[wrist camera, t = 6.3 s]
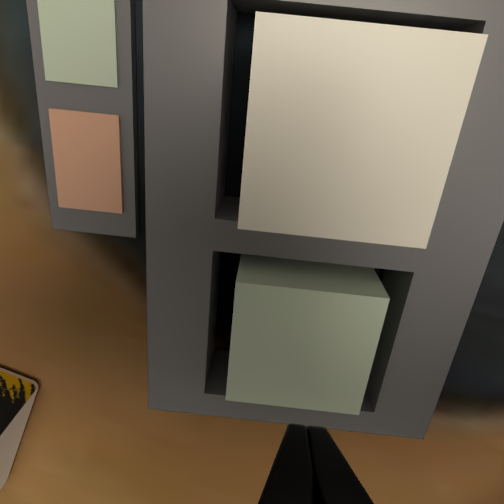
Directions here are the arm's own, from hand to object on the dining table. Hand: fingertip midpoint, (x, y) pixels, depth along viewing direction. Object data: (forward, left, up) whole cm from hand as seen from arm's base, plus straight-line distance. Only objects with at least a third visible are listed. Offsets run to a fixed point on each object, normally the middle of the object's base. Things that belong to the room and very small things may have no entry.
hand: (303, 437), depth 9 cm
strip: (+6, +7, -6) cm, 12 cm away
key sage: (0, 0, -6) cm, 6 cm away
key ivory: (+6, 0, -5) cm, 8 cm away
